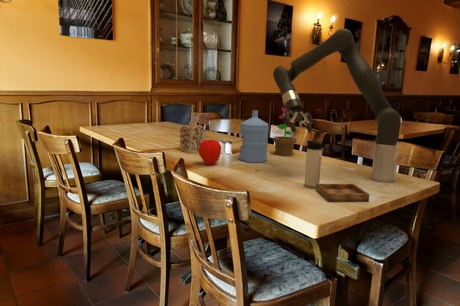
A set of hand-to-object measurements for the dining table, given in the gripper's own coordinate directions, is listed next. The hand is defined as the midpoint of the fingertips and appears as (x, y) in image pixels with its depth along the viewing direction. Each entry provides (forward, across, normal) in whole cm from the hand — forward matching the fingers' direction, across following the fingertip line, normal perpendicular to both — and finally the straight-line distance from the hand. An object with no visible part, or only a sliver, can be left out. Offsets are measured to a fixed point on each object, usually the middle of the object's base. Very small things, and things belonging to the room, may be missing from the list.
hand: (302, 131), depth 160 cm
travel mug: (+24, 0, +7) cm, 25 cm away
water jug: (-12, 0, +47) cm, 49 cm away
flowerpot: (-18, +26, +53) cm, 61 cm away
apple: (-9, -28, +46) cm, 54 cm away
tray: (+33, +4, -4) cm, 34 cm away
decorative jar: (-33, -25, +73) cm, 84 cm away
